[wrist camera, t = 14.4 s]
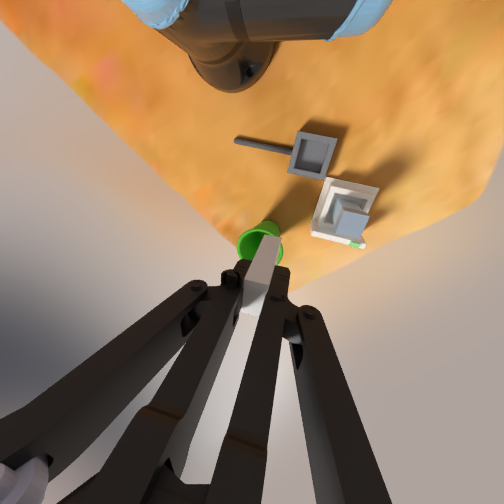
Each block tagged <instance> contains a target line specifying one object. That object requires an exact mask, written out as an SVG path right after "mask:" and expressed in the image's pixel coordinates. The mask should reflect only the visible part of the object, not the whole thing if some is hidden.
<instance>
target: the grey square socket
mask: <svg viewBox="0 0 504 504" xmlns="http://www.w3.org/2000/svg"><path fill="white" fill-rule="evenodd" d="M336 142H337V138H332V137H327V136H321V135H316V134H311V133H306V132H300V131H297V135H296V139H295V143H294V147H293V151H292V155H291V159H290V163H289V168H288V172H287V173H291V174H295V175H300V176H305V177H309V178H314V179H318V180H323V181H324V178H325V175H326V172H327V169H328V166H329V163H330V160H331V157H332V154H333V151H334V148H335V145H336Z"/></svg>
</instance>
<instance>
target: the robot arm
mask: <svg viewBox="0 0 504 504" xmlns="http://www.w3.org/2000/svg"><path fill="white" fill-rule="evenodd" d="M121 1H122V2H123V3H124V4H125V5H126V6H127V7H128V8H130V9H131V10H132V11H133V12H134V13H135V14H136V16H137V17H138V18H139V19H140V20H141V21H142V22H143V23H145V24H146V25H147V26H150V27H151V28H154V29H155V30H157V31H158V32H159V33H161V34H162V35H163V36H165V37H166V38H167V39H169V40H170V41H171V42H173V43H174V44H175V45H177V46H178V47H179V48H181V49H182V50H183V51H185V52H186V53H187V54H188V55H189V58H190V60H191V62H192V64H193V66H194V68H195V69H196V71H197V72H198V74H199V75H200V76H201V77H202V78H203V79H204V80H205V81H206V82H207V83H208V84H209V85H211V86H213V87H214V88H216V89H218V90H220V91H223V92H227V93H237V92H241V91H244V90H246V89H248V88H249V87H251V86H252V85H253V84H255V83H256V82H257V81H258V80H259V79H260V77H261V76H262V75H263V73H264V72H265V70H266V69H267V67H268V65H269V62H270V60H271V57H272V55H273V51H274V47H275V42H276V41H295V40H320V39H323V40H324V41H326V42H330V41H331V40H334V39H336V38H342V37H351V36H359V35H361V34H363V33H365V32H367V31H368V30H369V29H371V28H372V27H373V26H375V25H376V23H377V22H378V21H379V20H380V19H381V17H382V16H383V15H384V13H385V12H386V10H387V9H388V7H389V6H390V4H391V2H392V1H393V0H121ZM281 239H282V238H281V237H276V236H271V235H264V237H263V239H262V241H261V243H260V246H259V248H258V250H257V252H256V254H255V256H254V259H253V261H251V260H247V259H241V260H239V261H238V262H237V264H236V265H235V267H234V269H229V270H225V271H223V272H222V273H221V285H220V286H207V283H206V282H204V281H202V280H193V281H190V282H188V283H187V284H185V285H184V286H183V287H182V288H180V289H179V290H178V291H176V292H175V293H174V294H172V295H171V296H170V297H168V298H167V299H166V300H164V301H163V302H162V303H160V304H159V305H158V306H156V307H155V308H154V309H153V310H151V311H150V312H149V313H147V314H146V315H145V316H144V317H142V318H141V319H139V320H138V321H137V322H135V323H134V324H133V325H131V326H130V327H129V328H127V329H126V330H125V331H124V332H122V333H121V334H120V335H118V336H117V337H116V338H114V339H113V340H112V341H110V342H109V343H108V344H107V345H105V346H104V347H103V348H101V349H100V350H98V351H97V352H96V353H95V354H93V355H92V356H91V357H89V358H88V359H87V360H85V361H84V362H83V363H81V364H80V365H79V366H78V367H76V368H75V369H73V370H72V371H71V372H70V373H68V374H67V375H66V376H64V377H63V378H62V379H60V380H59V381H58V382H56V383H55V384H54V385H53V386H51V387H50V388H48V389H47V390H46V391H45V392H43V393H42V394H41V395H39V396H38V397H37V398H35V399H34V400H33V401H31V402H30V403H29V404H27V405H26V406H24V407H23V408H21V409H19V410H17V411H15V412H13V413H11V414H9V415H7V416H6V417H4V418H2V419H0V504H41V503H42V501H43V499H44V495H45V490H46V487H47V485H48V483H49V482H50V481H51V480H52V479H54V478H55V477H56V476H57V475H59V474H60V473H61V472H62V471H63V470H64V469H66V468H67V467H68V466H69V465H70V464H71V463H72V462H74V461H75V460H76V459H77V458H78V457H79V456H80V455H81V454H82V453H83V452H84V451H85V450H86V449H87V448H88V447H89V446H90V445H91V444H92V443H93V442H94V441H95V440H96V438H97V437H98V436H99V435H100V434H101V433H102V432H103V431H104V430H105V429H106V428H107V427H108V426H109V425H110V424H111V422H112V421H113V420H114V419H115V418H116V417H117V416H118V415H119V414H120V413H121V412H122V410H123V409H124V408H125V407H126V406H127V405H128V404H129V403H130V402H131V401H132V400H133V399H134V398H135V397H136V396H137V394H138V393H139V392H140V391H141V390H142V389H143V388H144V387H145V386H146V385H147V384H148V383H149V382H150V381H151V379H152V378H153V377H154V376H155V375H156V374H157V373H158V372H159V371H160V370H161V369H162V368H163V367H164V365H165V364H166V363H167V362H168V361H169V360H170V359H171V358H172V357H173V356H174V355H175V354H176V353H177V352H178V350H179V349H180V348H181V347H182V346H183V345H184V344H185V343H186V344H185V345H184V347H183V349H182V351H181V352H180V354H179V355H178V357H177V359H176V361H175V362H174V364H173V365H172V367H171V369H170V370H169V372H168V374H167V375H166V377H165V379H164V381H163V382H162V384H161V386H160V387H159V389H158V391H157V392H156V394H155V396H154V397H153V399H152V401H151V402H150V403H149V404H148V405H146V406H144V407H142V408H141V409H140V410H139V411H138V412H137V413H136V415H135V416H134V418H133V419H132V421H131V422H130V424H129V425H128V427H127V429H126V430H125V432H124V433H123V435H122V437H121V438H120V440H119V441H118V443H117V445H116V447H115V448H114V449H113V451H112V453H111V454H110V456H109V458H108V459H107V461H106V462H105V464H104V466H103V467H102V469H101V470H100V472H98V473H97V474H96V475H94V476H93V477H91V478H90V479H89V480H87V481H86V482H85V483H83V484H82V485H81V486H79V487H78V488H77V489H76V490H74V491H73V492H71V493H70V494H69V495H68V496H66V497H65V498H63V499H62V500H61V501H59V502H58V503H57V504H261V499H262V492H263V485H264V477H265V470H266V462H267V443H268V436H269V429H270V422H271V415H272V407H273V400H274V393H275V385H276V378H277V371H278V364H279V357H280V349H281V342H282V337H283V338H285V339H287V340H288V341H289V345H290V351H291V357H292V363H293V368H294V374H295V380H296V386H297V392H298V397H299V404H300V410H301V416H302V421H303V427H304V433H305V439H306V445H307V451H308V456H309V462H310V468H311V474H312V480H313V486H314V492H315V497H316V503H317V504H392V502H391V499H390V497H389V494H388V491H387V488H386V486H385V483H384V481H383V478H382V475H381V472H380V470H379V468H378V464H377V462H376V459H375V456H374V454H373V451H372V449H371V446H370V443H369V440H368V438H367V435H366V432H365V430H364V427H363V424H362V422H361V419H360V416H359V414H358V411H357V408H356V406H355V403H354V400H353V397H352V395H351V392H350V390H349V387H348V384H347V381H346V379H345V376H344V373H343V371H342V368H341V365H340V363H339V360H338V357H337V355H336V352H335V349H334V347H333V344H332V341H331V339H330V336H329V333H328V331H327V328H326V326H325V323H324V320H323V317H322V315H321V313H320V311H319V310H317V309H316V308H315V307H313V306H309V305H303V306H301V307H297V306H295V305H294V304H292V303H291V302H290V301H289V299H288V297H287V294H288V287H289V279H290V271H289V268H286V267H282V266H277V260H278V255H279V250H280V244H281ZM240 309H241V312H243V313H247V314H251V315H255V316H259V320H258V324H257V327H256V331H255V334H254V338H253V341H252V345H251V348H250V352H249V355H248V359H247V363H246V366H245V370H244V373H243V377H242V380H241V384H240V388H239V391H238V395H237V398H236V402H235V405H234V409H233V413H232V416H231V420H230V423H229V427H228V430H227V433H226V435H225V437H224V440H223V443H222V446H221V449H220V453H219V456H218V460H217V463H216V467H215V470H214V474H213V477H212V481H211V484H185V483H183V482H182V481H181V480H180V477H181V474H182V472H183V469H184V466H185V463H186V459H187V455H188V451H189V447H190V444H191V441H192V438H193V436H194V433H195V430H196V428H197V425H198V423H199V420H200V417H201V415H202V412H203V410H204V407H205V404H206V402H207V399H208V396H209V394H210V391H211V389H212V386H213V383H214V381H215V378H216V376H217V373H218V371H219V368H220V365H221V363H222V360H223V358H224V355H225V352H226V350H227V347H228V345H229V342H230V340H231V337H232V334H233V332H234V329H235V327H236V324H237V321H238V319H239V312H240Z"/></svg>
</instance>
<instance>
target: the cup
mask: <svg viewBox="0 0 504 504" xmlns="http://www.w3.org/2000/svg"><path fill="white" fill-rule="evenodd" d="M264 235H271V236H276V237H280V230H279V227H278V225H277V224H276V223H275V222H273V221H270V220H266V221H263V222H261V223H260V224H258V225H257V226H256V227H254V228H253V229H250V230H248V231H246V232H244V233H243V234H242V235H241V236H240V238H239V240H238V243H237V251H238V255H239V257H240V259H247V260H251V261H253V259H254V256H255V254H256V252H257V250H258V248H259V246H260V243H261V241H262V239H263V237H264ZM282 256H283V247H282V244H280V250H279V255H278V260H277V265H278V264H279V263H280V261H281V259H282Z"/></svg>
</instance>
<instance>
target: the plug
mask: <svg viewBox="0 0 504 504" xmlns="http://www.w3.org/2000/svg"><path fill="white" fill-rule="evenodd" d="M331 216H332V219H333V222H334V225H335V226H334V231H335V233H336V234H341V235H345V236H349V237H353V238H357V239H360V237H361V235H362V232H363V230H364V228H365V226H366V224H367V222H368V220H369V218H370V216H369V215H368V214H367V212H364V211H362V209H361V208H360V207H359V206H358V205H357V203H356V202H355V201H351V200H347V199H342V198H336V201H335V204H334V206H333V209H332V212H331Z"/></svg>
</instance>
